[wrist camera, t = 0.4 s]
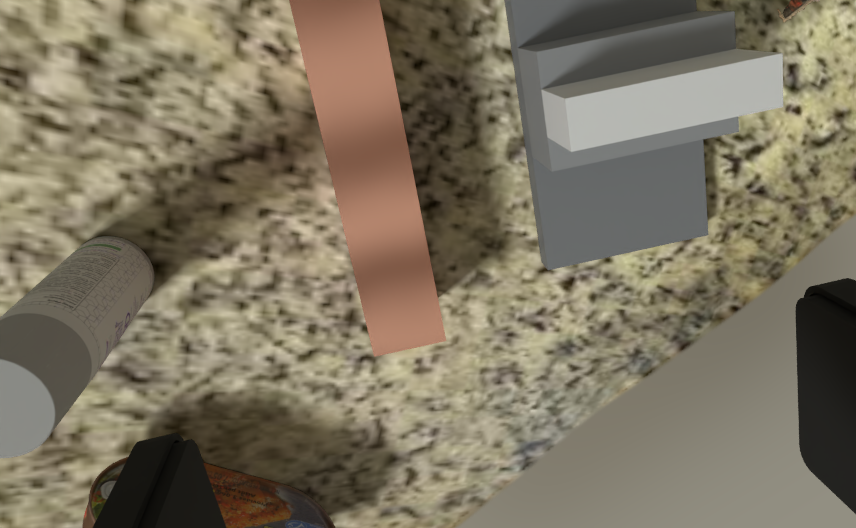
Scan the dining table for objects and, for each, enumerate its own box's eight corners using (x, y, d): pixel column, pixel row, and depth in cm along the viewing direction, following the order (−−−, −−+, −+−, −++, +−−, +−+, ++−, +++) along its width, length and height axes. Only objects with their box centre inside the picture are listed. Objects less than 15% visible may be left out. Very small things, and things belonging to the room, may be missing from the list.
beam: (280, -71, 37) (268, -86, 31) (356, -86, 37) (358, -103, 31) (370, 312, 44) (374, 356, 39) (432, 299, 44) (446, 340, 39)
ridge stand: (491, -91, 37) (538, -124, 28) (676, -128, 37) (779, -171, 29) (541, 261, 44) (591, 325, 35) (696, 228, 44) (785, 281, 36)
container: (157, 311, 42) (65, 460, 28) (74, 311, 42) (-62, 463, 28) (151, 236, 41) (51, 354, 27) (65, 235, 40) (-84, 354, 26)
